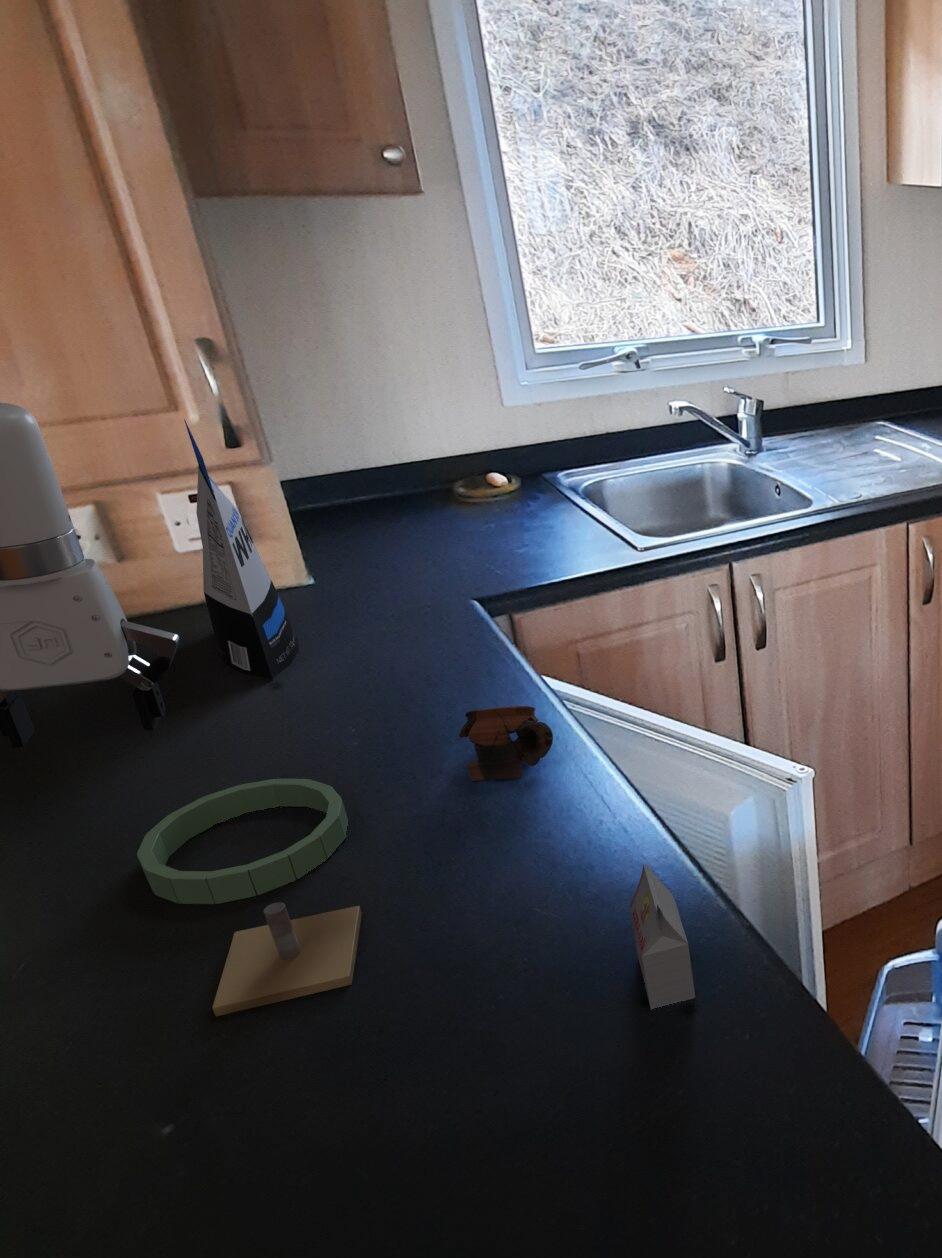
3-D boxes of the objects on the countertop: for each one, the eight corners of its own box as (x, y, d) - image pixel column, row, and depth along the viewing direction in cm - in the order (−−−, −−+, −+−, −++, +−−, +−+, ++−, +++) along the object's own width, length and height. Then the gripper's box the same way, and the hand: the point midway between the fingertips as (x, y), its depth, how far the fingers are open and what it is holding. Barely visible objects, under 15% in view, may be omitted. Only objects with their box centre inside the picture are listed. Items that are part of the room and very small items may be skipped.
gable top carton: (680, 947, 94) (668, 857, 90) (695, 997, 89) (683, 904, 84) (638, 958, 93) (623, 867, 88) (650, 1010, 87) (636, 916, 83)
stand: (215, 1017, 86) (192, 961, 83) (237, 940, 94) (217, 887, 92) (352, 984, 90) (334, 930, 87) (362, 913, 98) (346, 861, 95)
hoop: (127, 922, 96) (116, 896, 95) (171, 821, 110) (162, 797, 109) (338, 879, 102) (331, 854, 101) (355, 788, 116) (348, 765, 115)
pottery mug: (443, 785, 118) (438, 712, 118) (505, 779, 127) (500, 711, 127) (530, 777, 114) (524, 702, 115) (587, 771, 123) (582, 701, 123)
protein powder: (231, 690, 136) (154, 464, 123) (210, 627, 153) (141, 423, 140) (313, 671, 141) (249, 452, 128) (284, 612, 158) (225, 414, 145)
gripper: (-130, 581, 82) (-47, 768, 89) (136, 559, 88) (194, 736, 96) (-88, 550, 88) (-14, 728, 96) (158, 532, 94) (210, 700, 102)
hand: (90, 731), depth 96 cm, fingers open, 9 cm apart
